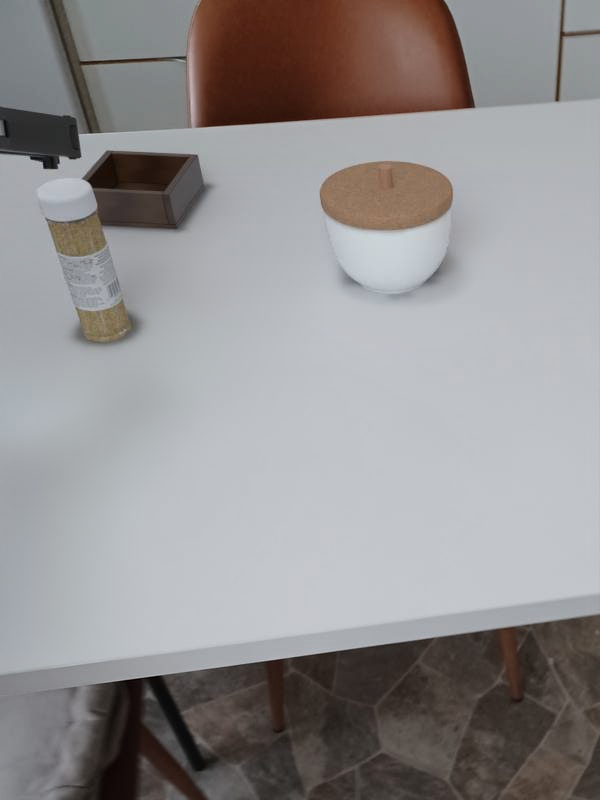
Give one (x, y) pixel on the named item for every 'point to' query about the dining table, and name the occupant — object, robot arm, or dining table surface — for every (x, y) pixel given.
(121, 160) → the box
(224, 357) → the dining table surface
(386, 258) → the lidded bowl
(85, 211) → the brown spice jar
